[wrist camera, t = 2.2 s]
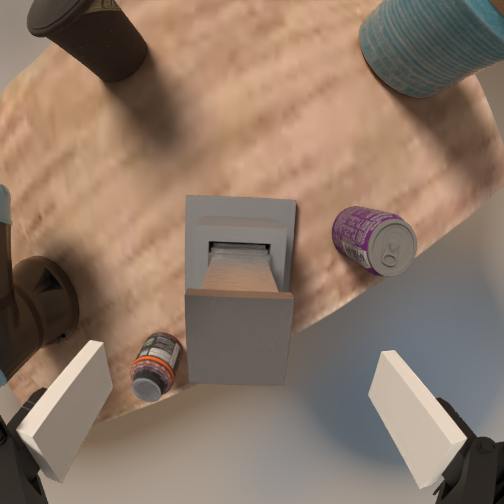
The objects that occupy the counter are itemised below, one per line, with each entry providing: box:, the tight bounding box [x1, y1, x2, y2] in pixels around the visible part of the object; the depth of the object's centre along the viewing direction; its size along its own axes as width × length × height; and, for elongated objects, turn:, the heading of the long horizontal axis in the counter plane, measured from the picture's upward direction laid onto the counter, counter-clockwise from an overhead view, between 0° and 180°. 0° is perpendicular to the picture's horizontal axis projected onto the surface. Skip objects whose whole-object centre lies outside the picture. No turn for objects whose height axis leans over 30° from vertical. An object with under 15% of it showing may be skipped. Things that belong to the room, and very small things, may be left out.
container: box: [27, 0, 147, 82], centre depth 23 cm, size 9×9×20 cm
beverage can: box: [332, 206, 417, 277], centre depth 34 cm, size 7×7×12 cm
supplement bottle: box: [131, 332, 182, 402], centre depth 37 cm, size 6×6×11 cm
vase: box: [359, 0, 504, 98], centre depth 21 cm, size 16×16×27 cm
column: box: [185, 241, 295, 385], centre depth 27 cm, size 6×6×23 cm
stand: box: [185, 195, 296, 292], centre depth 34 cm, size 14×14×12 cm
